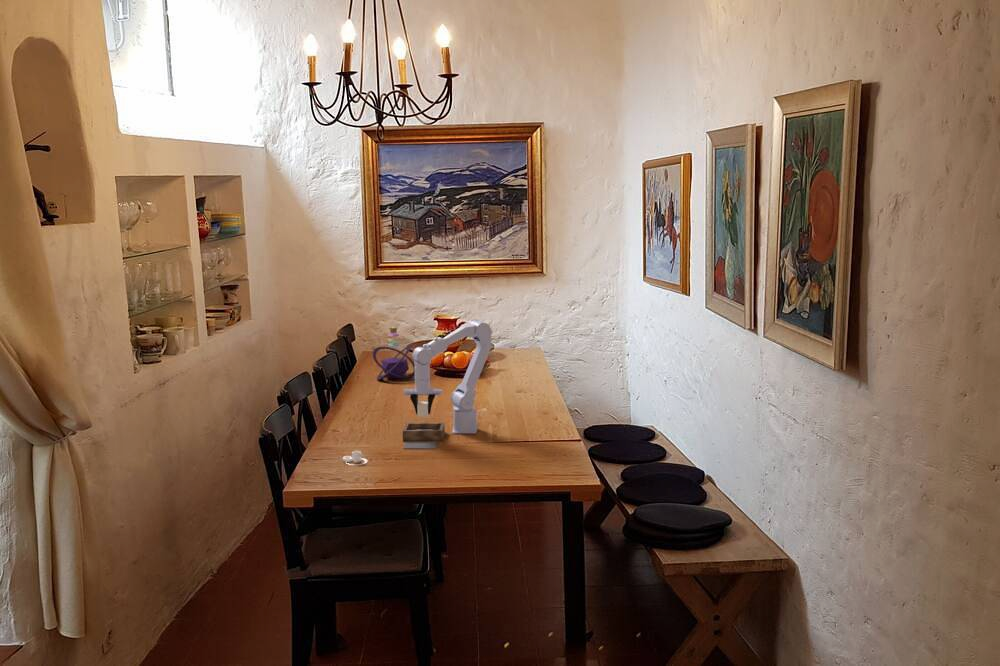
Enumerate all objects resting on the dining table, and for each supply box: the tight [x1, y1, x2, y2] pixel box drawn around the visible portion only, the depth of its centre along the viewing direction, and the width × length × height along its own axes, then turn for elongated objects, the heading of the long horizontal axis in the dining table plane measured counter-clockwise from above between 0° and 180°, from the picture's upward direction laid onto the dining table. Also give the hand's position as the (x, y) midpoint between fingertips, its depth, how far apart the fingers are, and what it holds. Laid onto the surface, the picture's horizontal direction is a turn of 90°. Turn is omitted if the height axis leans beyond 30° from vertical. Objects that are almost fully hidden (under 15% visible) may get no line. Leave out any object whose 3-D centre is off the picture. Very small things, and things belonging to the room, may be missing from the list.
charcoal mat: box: [403, 441, 439, 450], centre depth 341 cm, size 12×8×1 cm, turn 89°
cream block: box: [416, 401, 430, 418], centre depth 349 cm, size 4×4×5 cm
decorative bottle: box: [372, 326, 415, 381], centre depth 445 cm, size 22×21×25 cm
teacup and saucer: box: [342, 450, 369, 466], centre depth 323 cm, size 9×8×4 cm
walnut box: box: [402, 422, 446, 442], centre depth 351 cm, size 15×11×4 cm
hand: (423, 413), depth 349 cm, fingers closed on cream block, 4 cm apart
